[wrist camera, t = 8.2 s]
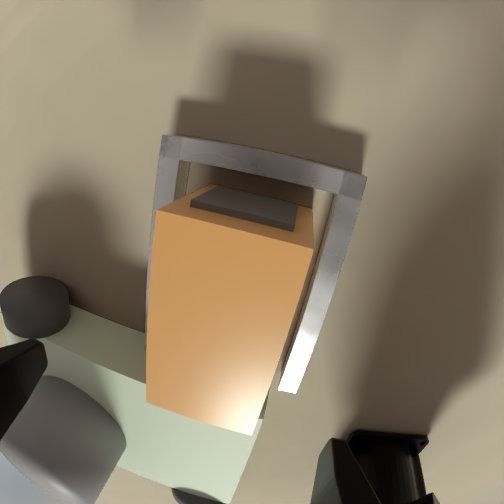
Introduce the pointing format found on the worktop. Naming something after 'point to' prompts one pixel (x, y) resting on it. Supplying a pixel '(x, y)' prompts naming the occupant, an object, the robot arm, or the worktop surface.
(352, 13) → the worktop surface
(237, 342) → the tan wooden brick
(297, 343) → the bracket
